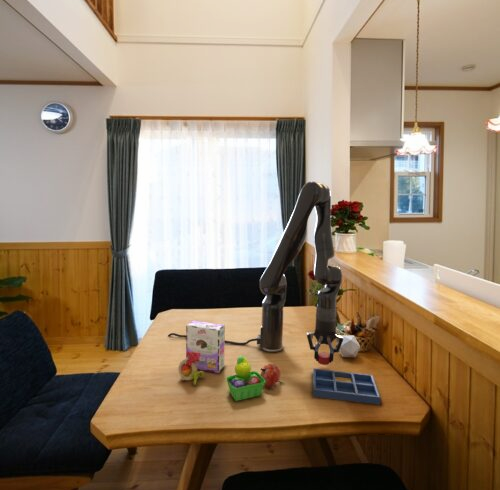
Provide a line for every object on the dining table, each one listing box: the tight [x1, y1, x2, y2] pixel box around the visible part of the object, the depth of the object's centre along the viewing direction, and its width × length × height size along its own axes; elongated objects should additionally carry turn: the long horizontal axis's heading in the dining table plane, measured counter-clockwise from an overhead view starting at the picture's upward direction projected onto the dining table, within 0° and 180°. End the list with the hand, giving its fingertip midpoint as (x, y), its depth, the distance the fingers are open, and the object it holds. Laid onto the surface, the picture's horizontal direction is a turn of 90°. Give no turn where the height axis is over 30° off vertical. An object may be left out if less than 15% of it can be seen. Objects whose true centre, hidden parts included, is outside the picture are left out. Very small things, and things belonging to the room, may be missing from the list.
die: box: [339, 334, 361, 358], centre depth 144 cm, size 8×9×10 cm
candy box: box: [185, 320, 226, 374], centre depth 131 cm, size 14×6×16 cm, turn 71°
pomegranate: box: [259, 363, 282, 389], centre depth 120 cm, size 7×7×10 cm
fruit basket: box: [225, 355, 265, 402], centre depth 114 cm, size 11×9×11 cm
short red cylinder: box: [317, 352, 330, 366], centre depth 132 cm, size 4×4×3 cm
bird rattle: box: [178, 351, 205, 386], centre depth 121 cm, size 6×11×9 cm
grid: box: [312, 368, 381, 405], centre depth 119 cm, size 21×14×2 cm
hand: (323, 360), depth 132 cm, fingers closed on short red cylinder, 4 cm apart
